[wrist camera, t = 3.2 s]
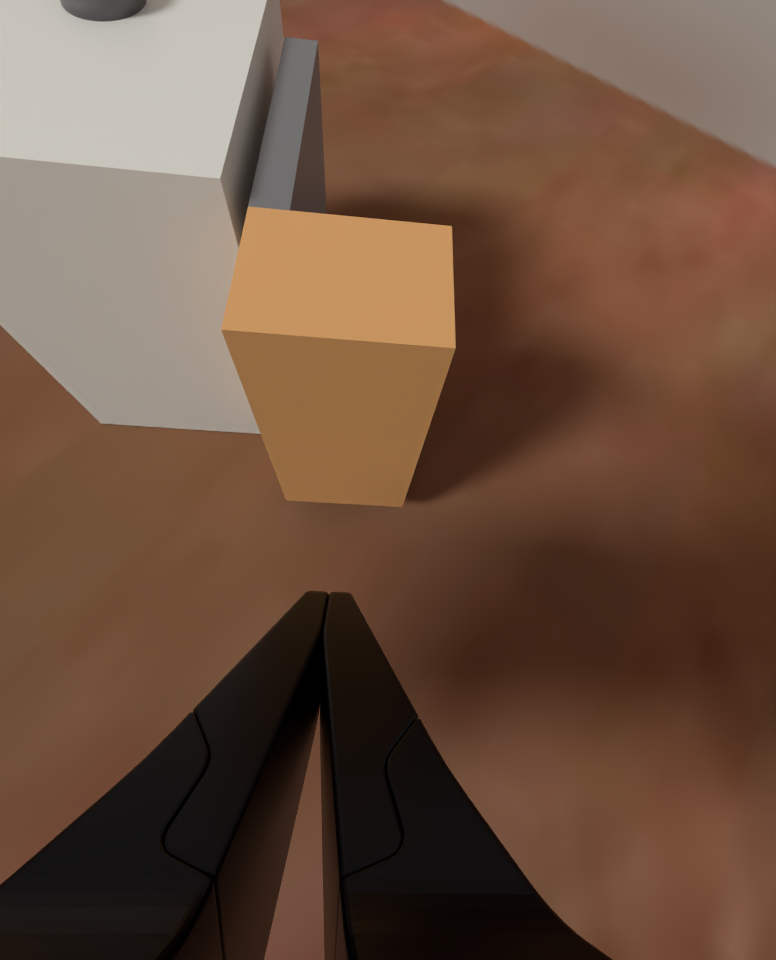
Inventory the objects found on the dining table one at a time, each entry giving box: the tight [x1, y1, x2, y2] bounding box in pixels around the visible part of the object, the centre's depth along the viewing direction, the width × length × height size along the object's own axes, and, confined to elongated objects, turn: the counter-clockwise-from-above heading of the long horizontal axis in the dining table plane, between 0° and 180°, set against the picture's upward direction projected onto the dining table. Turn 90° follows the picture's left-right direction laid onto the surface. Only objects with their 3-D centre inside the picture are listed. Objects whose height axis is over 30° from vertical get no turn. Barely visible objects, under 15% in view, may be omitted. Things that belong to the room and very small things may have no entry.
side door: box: [221, 37, 456, 507], centre depth 13 cm, size 9×4×8 cm, turn 178°
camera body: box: [0, 0, 284, 434], centre depth 14 cm, size 10×7×11 cm
